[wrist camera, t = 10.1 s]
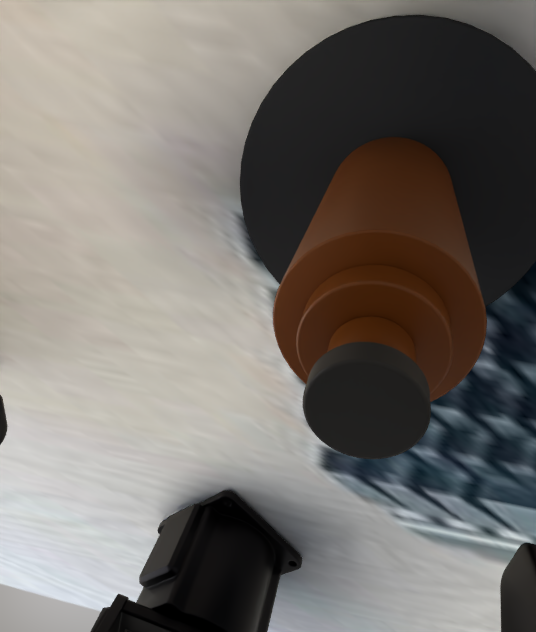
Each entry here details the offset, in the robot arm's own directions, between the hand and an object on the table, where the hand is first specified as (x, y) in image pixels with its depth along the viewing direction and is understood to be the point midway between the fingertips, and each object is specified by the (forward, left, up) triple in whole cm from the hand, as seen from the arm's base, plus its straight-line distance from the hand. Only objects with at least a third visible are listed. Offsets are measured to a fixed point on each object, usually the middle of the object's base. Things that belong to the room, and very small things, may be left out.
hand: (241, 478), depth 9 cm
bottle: (0, -2, -12) cm, 12 cm away
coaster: (0, -2, -13) cm, 13 cm away
